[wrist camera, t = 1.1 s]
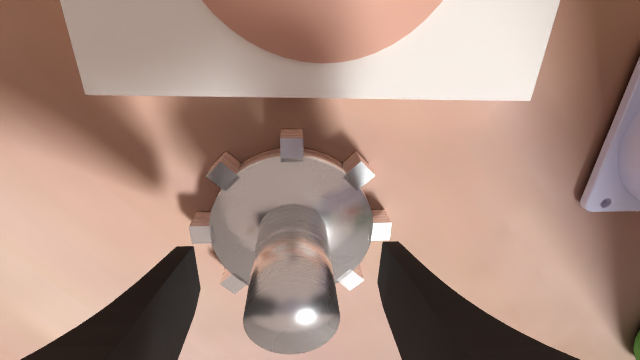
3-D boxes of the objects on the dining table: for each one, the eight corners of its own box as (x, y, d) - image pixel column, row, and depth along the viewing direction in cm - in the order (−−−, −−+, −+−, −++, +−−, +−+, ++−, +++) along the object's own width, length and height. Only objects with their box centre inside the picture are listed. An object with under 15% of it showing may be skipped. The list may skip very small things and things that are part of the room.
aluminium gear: (395, 129, 14) (457, 195, 9) (374, 287, 18) (409, 400, 13) (183, 128, 14) (109, 198, 8) (208, 292, 17) (169, 415, 12)
